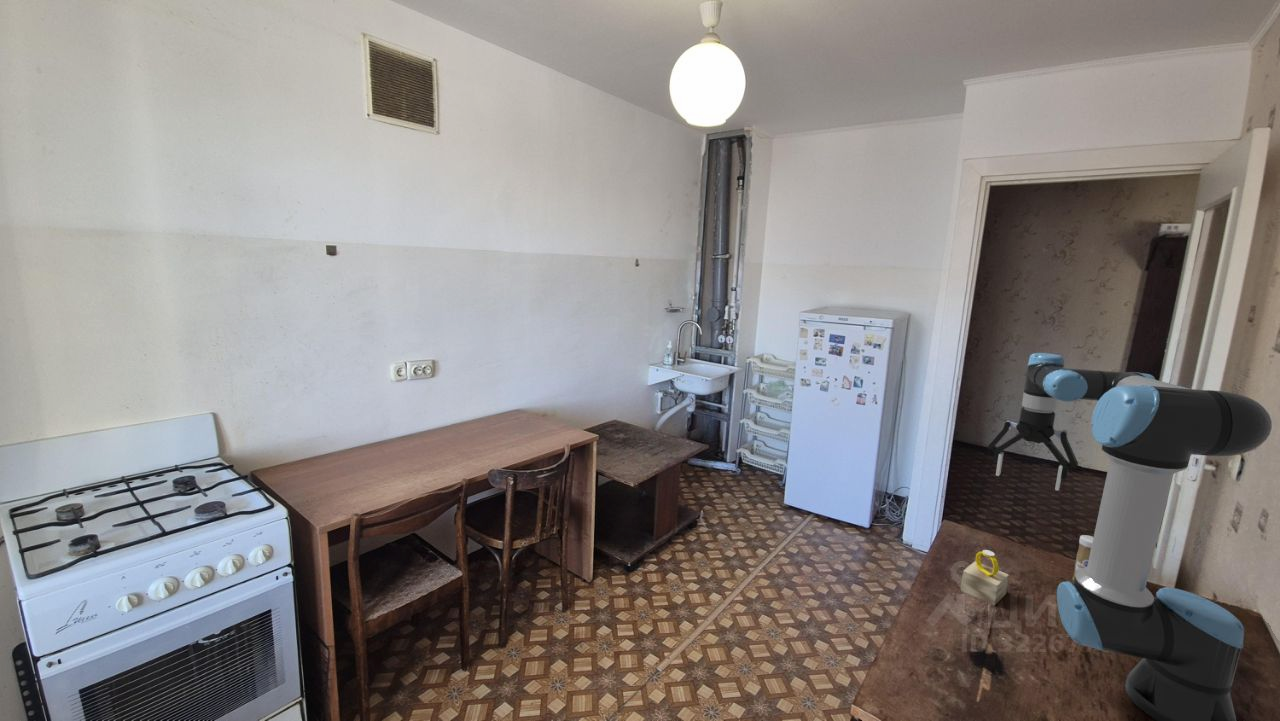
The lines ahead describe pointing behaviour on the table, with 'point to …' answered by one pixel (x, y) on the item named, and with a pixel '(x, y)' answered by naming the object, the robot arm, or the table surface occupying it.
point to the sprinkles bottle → (1083, 552)
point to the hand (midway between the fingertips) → (1026, 481)
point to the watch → (993, 559)
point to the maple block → (984, 583)
